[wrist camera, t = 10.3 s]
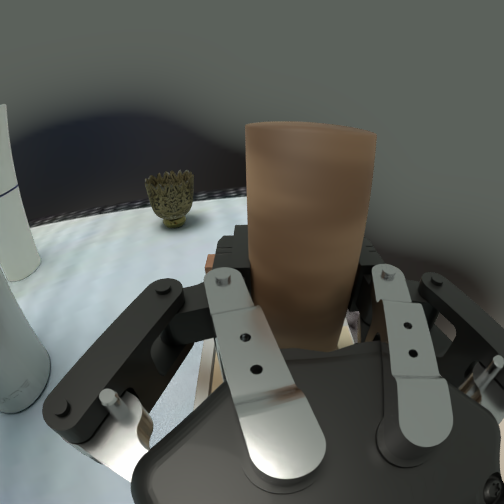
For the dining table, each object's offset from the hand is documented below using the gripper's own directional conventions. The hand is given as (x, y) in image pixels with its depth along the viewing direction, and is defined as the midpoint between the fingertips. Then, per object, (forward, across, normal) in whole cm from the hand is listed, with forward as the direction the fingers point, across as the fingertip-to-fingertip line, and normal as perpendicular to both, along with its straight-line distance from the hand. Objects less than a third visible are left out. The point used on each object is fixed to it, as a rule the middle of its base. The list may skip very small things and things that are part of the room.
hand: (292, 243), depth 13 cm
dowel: (-3, 0, +8) cm, 9 cm away
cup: (+28, +14, +12) cm, 33 cm away
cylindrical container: (+15, +38, +12) cm, 42 cm away
